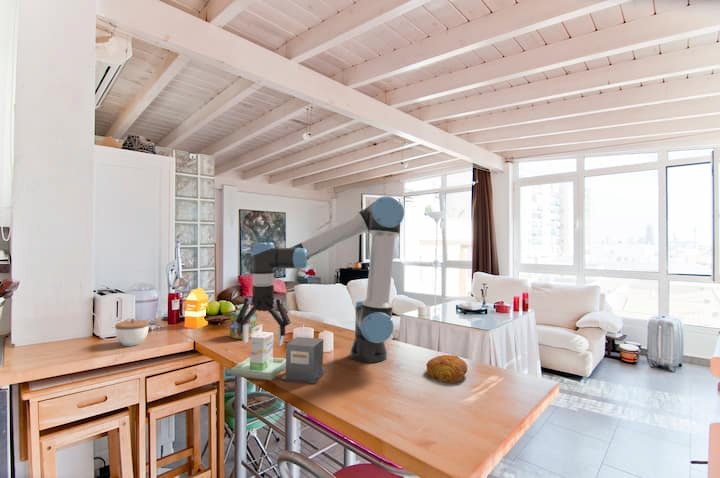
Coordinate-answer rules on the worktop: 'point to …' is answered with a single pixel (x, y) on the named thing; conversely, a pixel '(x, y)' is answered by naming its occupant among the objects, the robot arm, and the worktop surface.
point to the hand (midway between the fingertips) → (262, 343)
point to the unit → (304, 360)
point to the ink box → (261, 349)
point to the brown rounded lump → (446, 368)
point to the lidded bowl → (132, 332)
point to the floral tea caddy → (236, 327)
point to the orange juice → (196, 309)
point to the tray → (266, 374)
